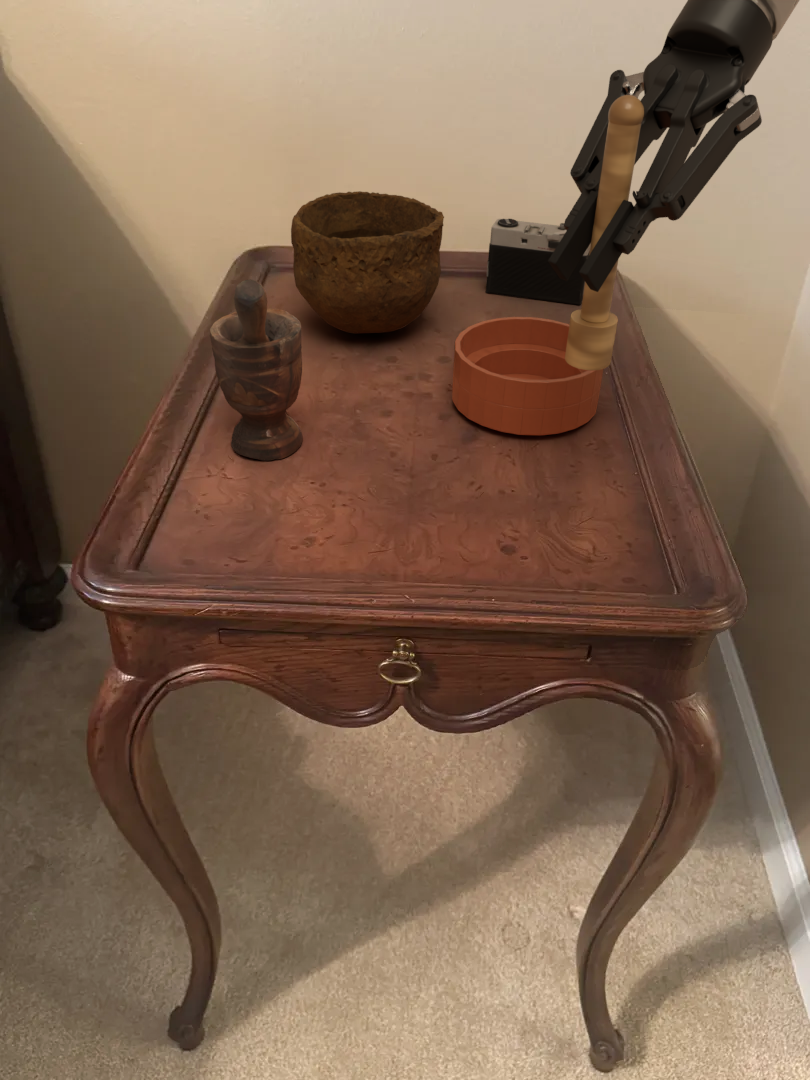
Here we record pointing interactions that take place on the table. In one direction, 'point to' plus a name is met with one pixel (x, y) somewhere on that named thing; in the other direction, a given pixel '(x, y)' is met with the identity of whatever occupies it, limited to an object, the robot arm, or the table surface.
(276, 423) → the mortar and pestle
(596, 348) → the muddler
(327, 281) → the bowl
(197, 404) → the table surface
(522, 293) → the camera
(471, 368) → the mixing bowl
